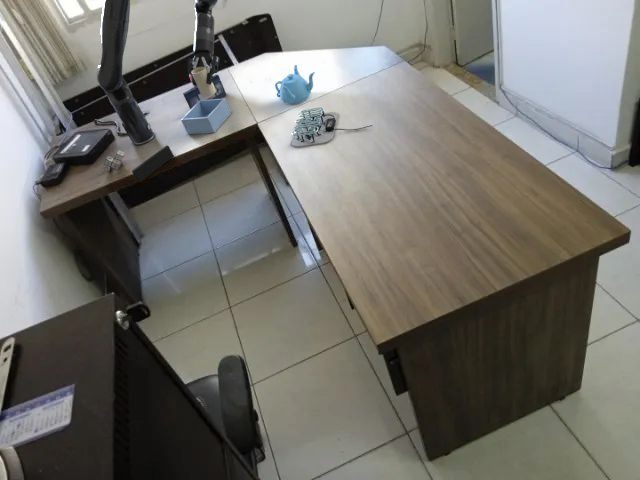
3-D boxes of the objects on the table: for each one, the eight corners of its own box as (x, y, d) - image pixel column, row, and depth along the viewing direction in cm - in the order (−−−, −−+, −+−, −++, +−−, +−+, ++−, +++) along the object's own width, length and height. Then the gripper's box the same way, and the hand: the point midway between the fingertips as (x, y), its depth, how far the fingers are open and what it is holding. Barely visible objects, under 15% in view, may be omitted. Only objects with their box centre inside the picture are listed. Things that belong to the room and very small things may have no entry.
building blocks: (115, 174, 193) (120, 160, 188) (102, 168, 191) (107, 154, 186) (120, 167, 197) (125, 152, 192) (107, 161, 195) (111, 146, 190)
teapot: (274, 101, 201) (266, 78, 194) (304, 85, 204) (297, 62, 198) (290, 110, 190) (282, 87, 183) (321, 94, 194) (315, 70, 187)
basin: (187, 134, 199) (180, 119, 194) (205, 114, 209) (199, 100, 204) (214, 132, 193) (207, 117, 189) (231, 112, 203) (225, 98, 199)
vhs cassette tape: (194, 114, 212) (184, 94, 205) (191, 113, 214) (181, 93, 207) (227, 95, 218) (219, 75, 212) (224, 94, 220) (215, 73, 214)
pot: (199, 97, 189) (188, 74, 183) (206, 90, 193) (196, 67, 186) (211, 96, 187) (201, 72, 180) (218, 89, 191) (208, 65, 184)
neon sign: (369, 126, 157) (286, 138, 166) (371, 137, 160) (290, 148, 168) (374, 95, 172) (297, 108, 180) (376, 106, 175) (300, 118, 183)
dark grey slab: (172, 155, 188) (166, 145, 185) (174, 156, 187) (168, 145, 184) (138, 181, 179) (131, 170, 176) (139, 182, 179) (133, 171, 175)
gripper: (183, 40, 185) (180, 83, 185) (213, 35, 179) (211, 80, 179) (195, 47, 192) (193, 89, 192) (225, 43, 186) (222, 86, 186)
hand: (201, 84), depth 186 cm, fingers closed on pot, 6 cm apart
